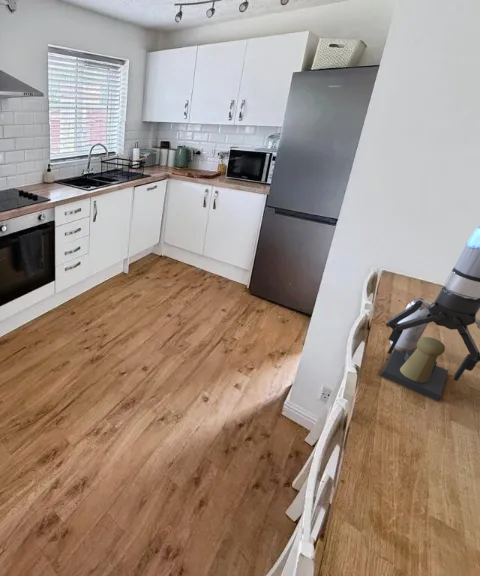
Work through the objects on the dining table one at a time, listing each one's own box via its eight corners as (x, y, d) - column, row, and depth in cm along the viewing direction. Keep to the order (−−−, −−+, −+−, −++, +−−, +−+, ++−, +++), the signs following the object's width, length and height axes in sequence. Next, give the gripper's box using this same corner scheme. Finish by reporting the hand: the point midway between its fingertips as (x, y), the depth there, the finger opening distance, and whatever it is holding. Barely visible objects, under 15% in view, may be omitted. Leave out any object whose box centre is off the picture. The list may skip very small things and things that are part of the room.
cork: (402, 363, 100) (421, 330, 95) (430, 375, 96) (451, 341, 91) (397, 373, 97) (416, 339, 91) (425, 386, 93) (447, 351, 87)
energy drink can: (402, 340, 113) (425, 298, 106) (417, 352, 108) (443, 309, 100) (383, 339, 113) (405, 297, 105) (398, 352, 107) (422, 308, 100)
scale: (392, 352, 107) (397, 342, 106) (445, 373, 100) (451, 363, 98) (380, 375, 98) (386, 365, 96) (437, 400, 91) (444, 390, 89)
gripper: (541, 308, 79) (488, 382, 89) (401, 269, 94) (369, 336, 105) (543, 321, 74) (486, 397, 84) (395, 278, 90) (362, 347, 100)
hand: (421, 364), depth 95 cm, fingers open, 13 cm apart
